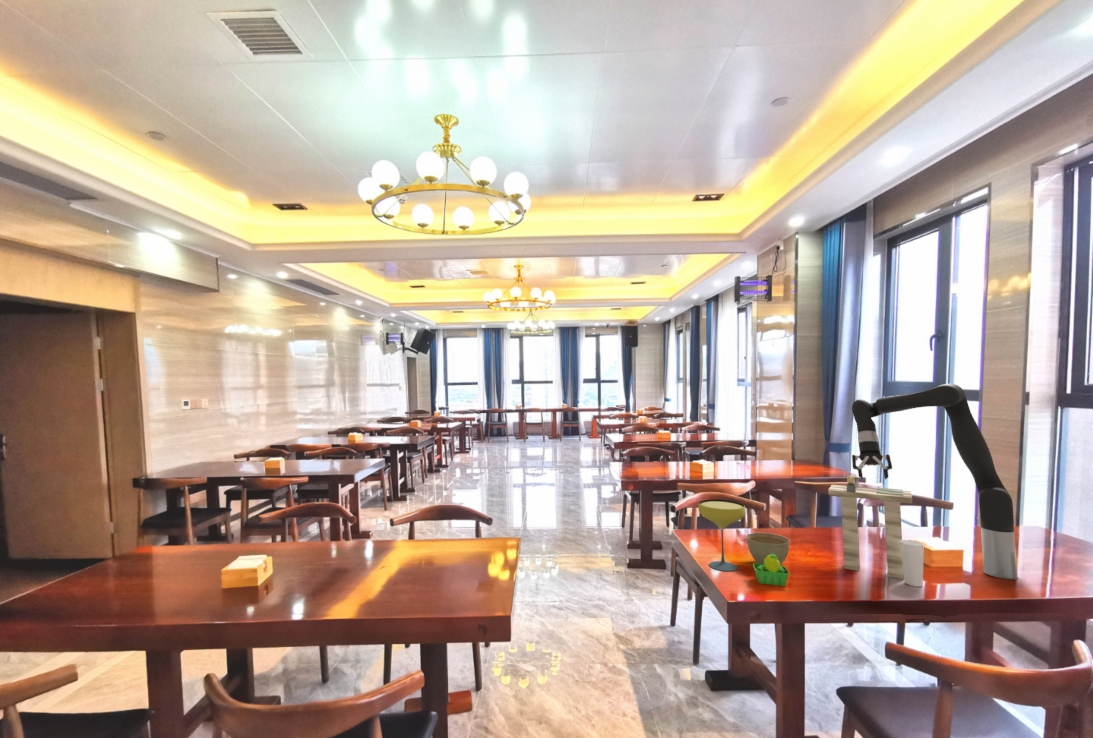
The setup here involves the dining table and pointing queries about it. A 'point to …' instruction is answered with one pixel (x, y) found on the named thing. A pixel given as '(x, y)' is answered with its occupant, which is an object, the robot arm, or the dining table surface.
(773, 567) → the fruit basket
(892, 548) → the shelf
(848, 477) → the crank handle
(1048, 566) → the dining table surface
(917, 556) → the drinking glass
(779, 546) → the planter bowl
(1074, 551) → the dining table surface
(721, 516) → the cocktail glass
